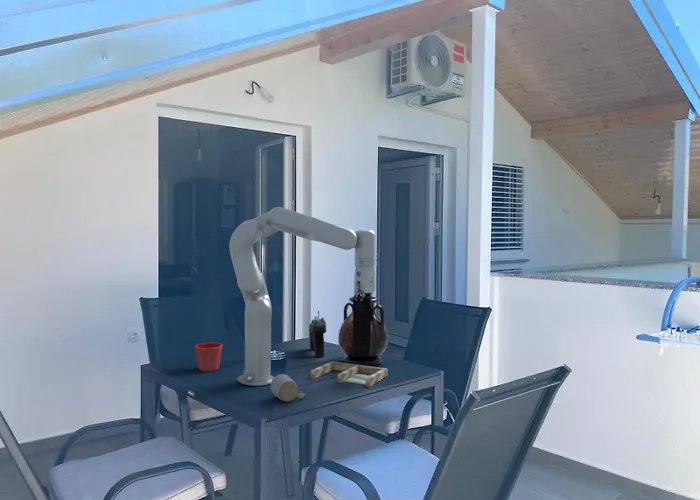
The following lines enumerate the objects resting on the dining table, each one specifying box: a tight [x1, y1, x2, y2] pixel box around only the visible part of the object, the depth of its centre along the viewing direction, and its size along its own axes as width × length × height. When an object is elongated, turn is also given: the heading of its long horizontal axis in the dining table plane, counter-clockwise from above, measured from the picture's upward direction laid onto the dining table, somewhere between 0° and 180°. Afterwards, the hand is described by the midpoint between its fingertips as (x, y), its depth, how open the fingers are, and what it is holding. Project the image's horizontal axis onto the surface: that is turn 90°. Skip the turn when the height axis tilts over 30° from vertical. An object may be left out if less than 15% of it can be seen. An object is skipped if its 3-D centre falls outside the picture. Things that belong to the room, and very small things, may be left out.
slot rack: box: [310, 361, 389, 388], centre depth 221 cm, size 18×24×3 cm
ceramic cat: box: [308, 310, 327, 358], centre depth 261 cm, size 20×6×20 cm, turn 13°
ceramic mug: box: [270, 373, 305, 403], centre depth 191 cm, size 11×8×8 cm
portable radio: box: [352, 294, 374, 357], centre depth 217 cm, size 8×6×25 cm
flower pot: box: [194, 342, 223, 372], centre depth 229 cm, size 11×11×10 cm
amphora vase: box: [337, 296, 389, 367], centre depth 245 cm, size 22×22×28 cm
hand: (363, 309), depth 216 cm, fingers closed on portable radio, 6 cm apart
